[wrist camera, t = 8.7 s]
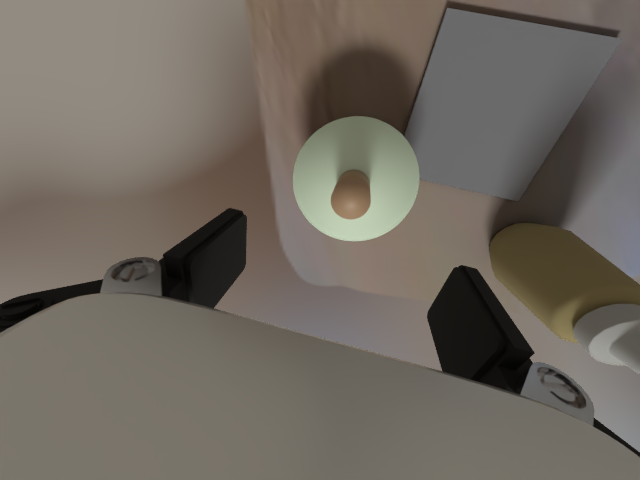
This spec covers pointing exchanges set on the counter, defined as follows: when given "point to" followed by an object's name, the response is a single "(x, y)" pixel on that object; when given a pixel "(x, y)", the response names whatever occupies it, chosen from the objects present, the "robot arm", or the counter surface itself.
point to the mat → (499, 99)
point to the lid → (356, 178)
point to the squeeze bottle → (571, 290)
